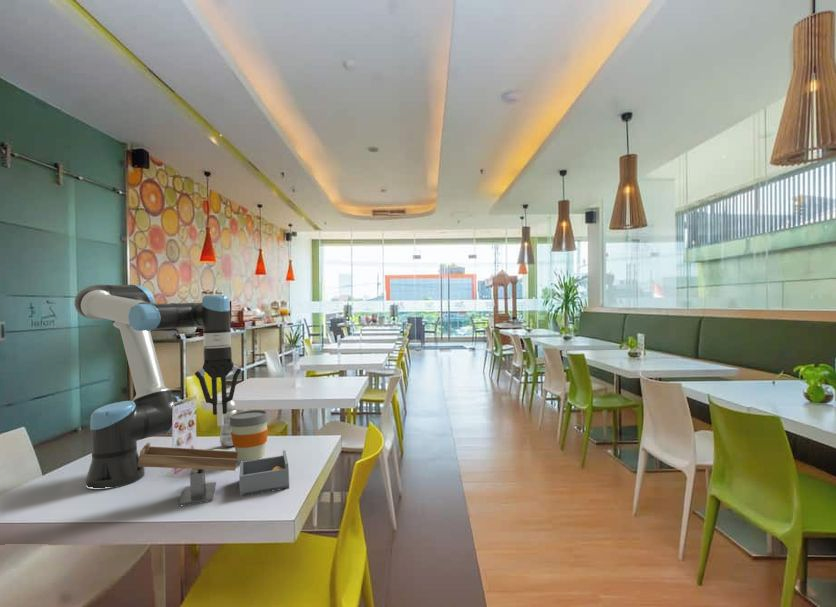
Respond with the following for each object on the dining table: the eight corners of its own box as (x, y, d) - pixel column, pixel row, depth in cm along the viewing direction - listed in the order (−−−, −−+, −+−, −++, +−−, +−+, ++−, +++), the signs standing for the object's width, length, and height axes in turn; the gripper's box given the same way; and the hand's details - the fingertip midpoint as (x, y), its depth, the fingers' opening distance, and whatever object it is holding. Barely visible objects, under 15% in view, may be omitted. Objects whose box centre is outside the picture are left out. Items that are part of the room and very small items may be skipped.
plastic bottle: (240, 446, 170) (238, 393, 170) (221, 450, 167) (219, 395, 167) (237, 442, 176) (235, 390, 176) (218, 445, 172) (216, 393, 172)
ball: (270, 481, 133) (267, 470, 133) (280, 475, 136) (276, 463, 136) (278, 482, 131) (274, 470, 131) (287, 475, 134) (284, 464, 134)
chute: (149, 453, 133) (153, 435, 133) (236, 457, 141) (239, 440, 141) (135, 471, 118) (139, 451, 118) (234, 475, 125) (237, 456, 126)
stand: (185, 489, 131) (184, 465, 131) (215, 484, 134) (214, 460, 134) (179, 506, 120) (178, 479, 120) (212, 500, 122) (211, 474, 122)
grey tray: (241, 480, 136) (240, 456, 136) (286, 472, 141) (285, 450, 141) (240, 496, 124) (239, 471, 124) (289, 488, 129) (288, 463, 129)
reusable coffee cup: (277, 452, 161) (275, 410, 161) (254, 464, 149) (252, 419, 149) (247, 450, 165) (245, 409, 165) (223, 462, 153) (221, 418, 153)
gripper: (192, 349, 130) (195, 431, 130) (240, 346, 135) (243, 425, 135) (195, 347, 137) (198, 424, 138) (241, 344, 142) (244, 419, 142)
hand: (220, 424), depth 136 cm, fingers closed
